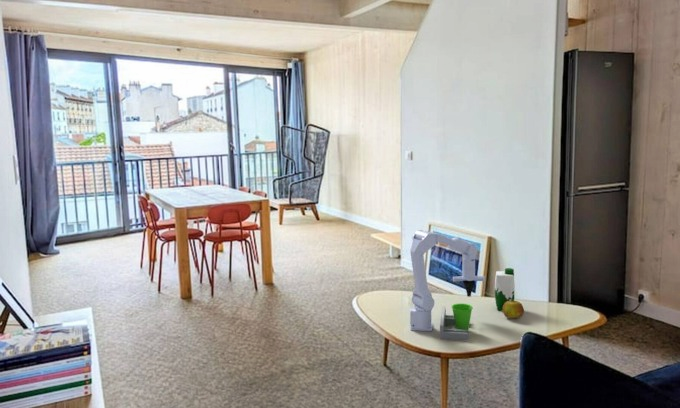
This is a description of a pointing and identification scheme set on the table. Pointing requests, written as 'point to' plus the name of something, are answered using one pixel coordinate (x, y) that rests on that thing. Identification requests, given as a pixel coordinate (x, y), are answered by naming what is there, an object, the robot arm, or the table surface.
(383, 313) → the table surface
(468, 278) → the robot arm
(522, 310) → the fruit
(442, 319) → the rack
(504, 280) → the milk carton
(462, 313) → the cup
